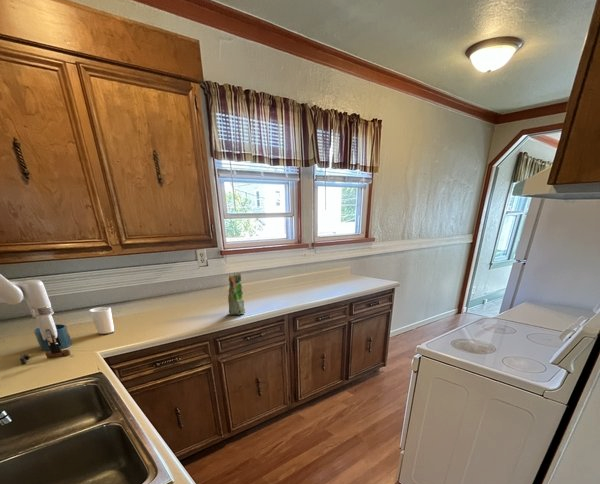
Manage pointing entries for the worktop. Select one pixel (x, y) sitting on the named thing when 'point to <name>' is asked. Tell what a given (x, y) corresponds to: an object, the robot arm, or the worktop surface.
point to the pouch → (235, 295)
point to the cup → (102, 320)
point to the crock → (61, 333)
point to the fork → (24, 358)
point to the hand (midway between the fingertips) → (56, 349)
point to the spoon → (58, 354)
